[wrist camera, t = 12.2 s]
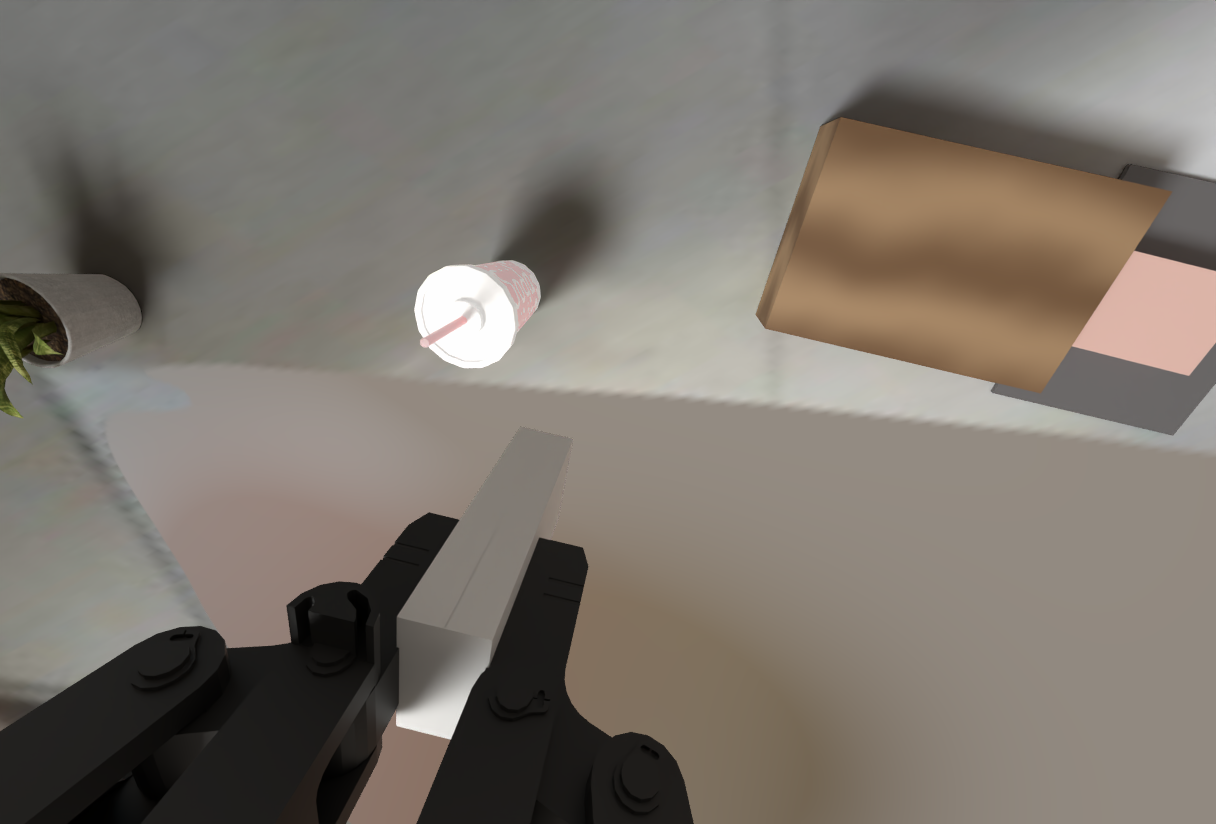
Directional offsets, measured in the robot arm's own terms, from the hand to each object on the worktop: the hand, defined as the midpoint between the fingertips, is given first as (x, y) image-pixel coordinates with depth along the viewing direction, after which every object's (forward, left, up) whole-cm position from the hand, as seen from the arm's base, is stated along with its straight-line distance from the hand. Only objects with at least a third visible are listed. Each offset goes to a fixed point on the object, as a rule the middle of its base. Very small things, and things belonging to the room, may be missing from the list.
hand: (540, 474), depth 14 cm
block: (-7, +32, -24) cm, 41 cm away
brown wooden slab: (-7, +19, -24) cm, 32 cm away
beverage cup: (+1, -8, -25) cm, 26 cm away
